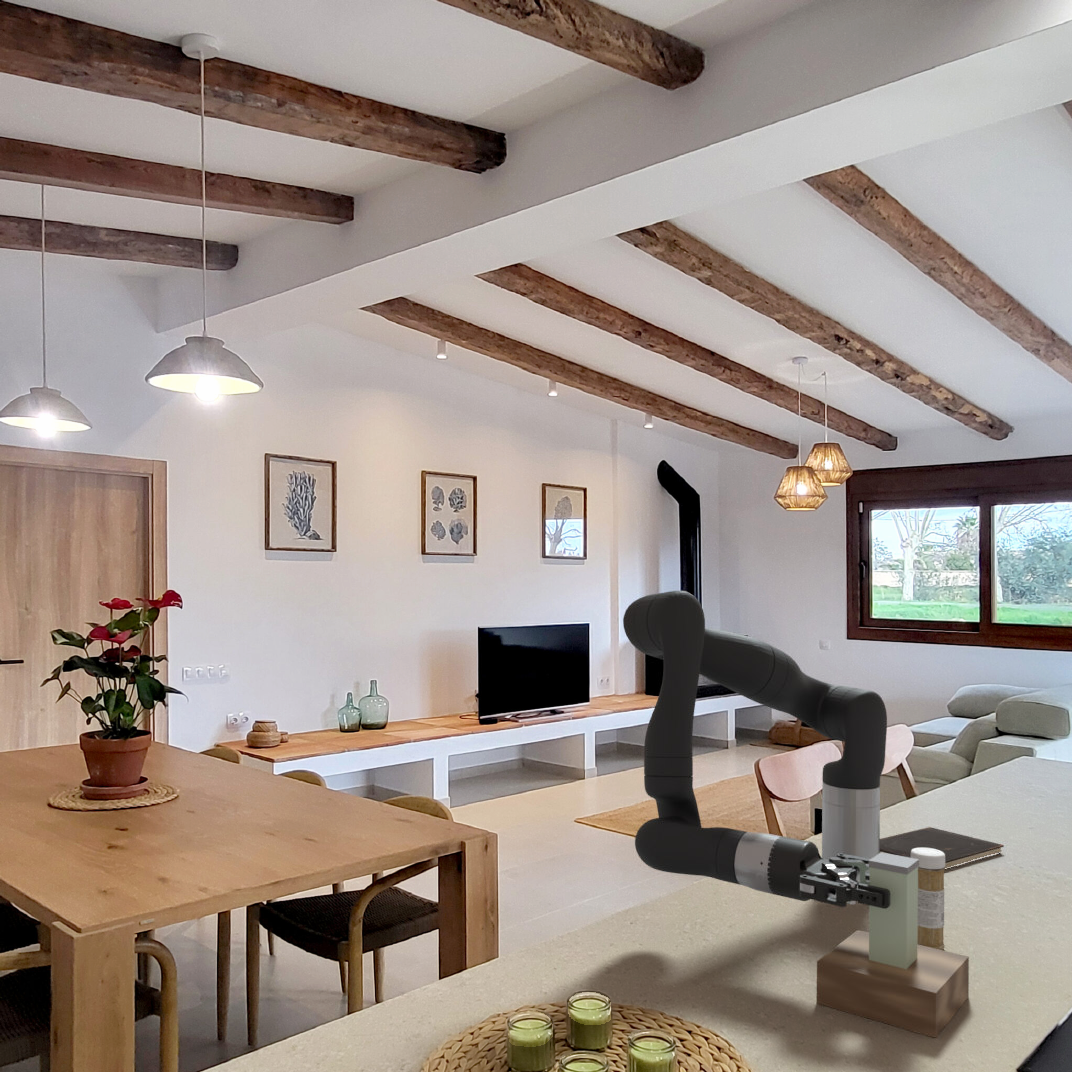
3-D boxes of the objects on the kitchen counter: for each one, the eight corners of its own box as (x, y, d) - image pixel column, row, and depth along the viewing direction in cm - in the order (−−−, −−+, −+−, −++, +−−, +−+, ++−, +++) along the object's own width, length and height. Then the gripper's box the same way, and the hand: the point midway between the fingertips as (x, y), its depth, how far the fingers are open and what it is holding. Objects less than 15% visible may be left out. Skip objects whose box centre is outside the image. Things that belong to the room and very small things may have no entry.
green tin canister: (880, 948, 126) (880, 852, 126) (918, 957, 123) (919, 859, 124) (867, 960, 122) (868, 860, 123) (907, 969, 119) (907, 867, 120)
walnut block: (857, 968, 132) (857, 930, 132) (968, 997, 124) (968, 956, 124) (816, 1003, 121) (816, 961, 121) (935, 1037, 113) (936, 993, 113)
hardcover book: (1003, 857, 189) (1003, 844, 189) (934, 877, 175) (934, 864, 175) (926, 837, 201) (927, 826, 201) (857, 855, 188) (857, 842, 188)
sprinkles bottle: (917, 938, 144) (918, 844, 144) (949, 947, 140) (950, 851, 141) (904, 947, 140) (905, 850, 141) (937, 956, 137) (937, 857, 138)
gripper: (754, 847, 127) (882, 873, 117) (798, 826, 138) (918, 847, 128) (753, 907, 127) (881, 938, 117) (798, 880, 138) (918, 906, 128)
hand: (900, 890), depth 122 cm, fingers open, 8 cm apart
